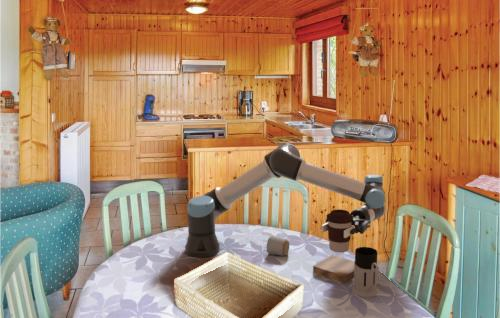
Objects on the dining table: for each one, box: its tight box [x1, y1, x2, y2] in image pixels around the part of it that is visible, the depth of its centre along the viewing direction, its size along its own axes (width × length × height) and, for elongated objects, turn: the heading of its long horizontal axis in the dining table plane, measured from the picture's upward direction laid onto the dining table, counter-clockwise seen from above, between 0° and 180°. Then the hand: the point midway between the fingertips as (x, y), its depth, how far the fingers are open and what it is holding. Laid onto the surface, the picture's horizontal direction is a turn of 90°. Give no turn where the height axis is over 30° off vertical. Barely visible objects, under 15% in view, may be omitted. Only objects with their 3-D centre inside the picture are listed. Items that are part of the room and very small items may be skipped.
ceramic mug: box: [266, 235, 290, 257], centre depth 190 cm, size 11×8×8 cm
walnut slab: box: [312, 254, 355, 285], centre depth 170 cm, size 14×14×3 cm
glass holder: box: [351, 246, 380, 298], centre depth 152 cm, size 9×14×15 cm, turn 8°
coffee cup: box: [326, 209, 353, 253], centre depth 168 cm, size 10×10×15 cm
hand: (333, 231), depth 164 cm, fingers closed on coffee cup, 9 cm apart
